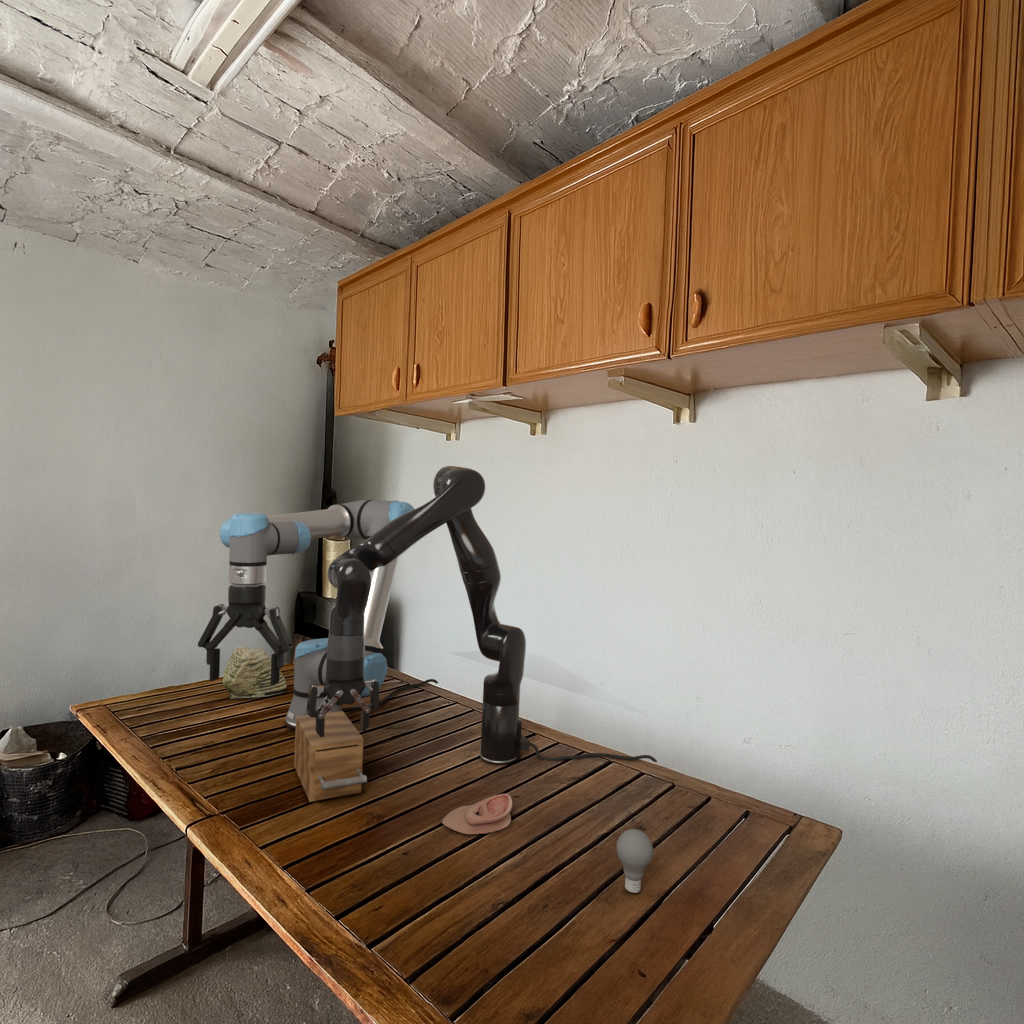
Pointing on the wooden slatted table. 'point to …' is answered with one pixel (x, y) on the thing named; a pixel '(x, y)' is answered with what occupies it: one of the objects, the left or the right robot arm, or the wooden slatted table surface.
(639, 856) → the light bulb
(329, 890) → the wooden slatted table surface
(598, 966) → the wooden slatted table surface
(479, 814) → the anatomical model
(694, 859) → the wooden slatted table surface
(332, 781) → the drawer
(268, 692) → the fossil
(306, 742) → the cabinet
